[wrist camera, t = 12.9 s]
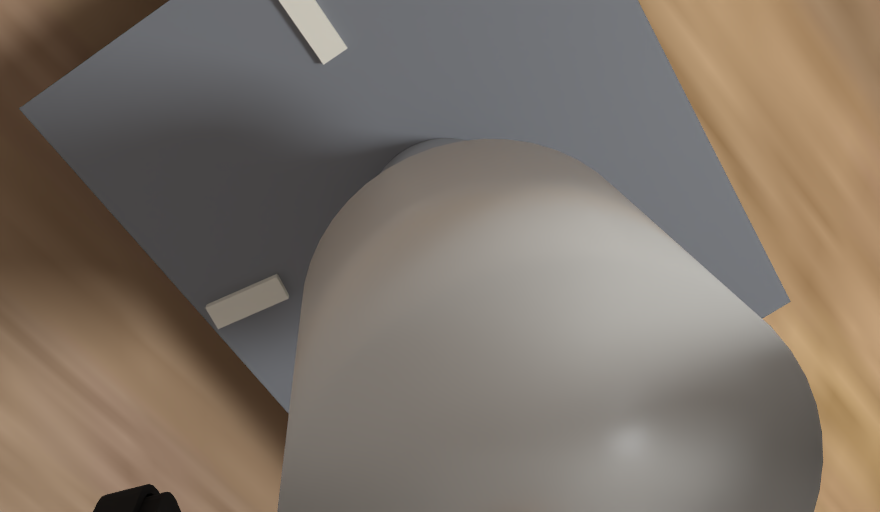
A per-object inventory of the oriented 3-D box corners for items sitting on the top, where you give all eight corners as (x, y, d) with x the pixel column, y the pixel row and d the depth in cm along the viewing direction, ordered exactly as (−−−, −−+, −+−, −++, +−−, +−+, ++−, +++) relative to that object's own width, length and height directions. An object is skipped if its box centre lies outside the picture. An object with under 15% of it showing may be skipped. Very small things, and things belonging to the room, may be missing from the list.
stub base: (736, 258, 23) (925, 408, 15) (391, 469, 24) (413, 701, 17) (485, -217, 18) (589, -334, 10) (66, 84, 19) (-111, 173, 12)
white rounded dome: (520, 57, 12) (647, 137, 7) (720, 327, 14) (927, 538, 9) (222, 301, 13) (145, 528, 8) (452, 520, 15) (508, 808, 10)
